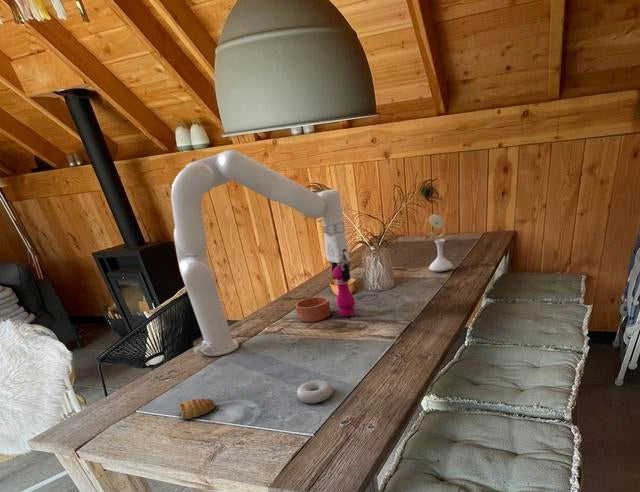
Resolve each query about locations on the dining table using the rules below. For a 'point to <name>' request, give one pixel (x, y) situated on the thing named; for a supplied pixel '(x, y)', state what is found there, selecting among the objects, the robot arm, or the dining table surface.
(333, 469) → the dining table surface
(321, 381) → the donut
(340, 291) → the pepper mill
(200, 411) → the pastry
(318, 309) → the bowl
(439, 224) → the flower in vase
